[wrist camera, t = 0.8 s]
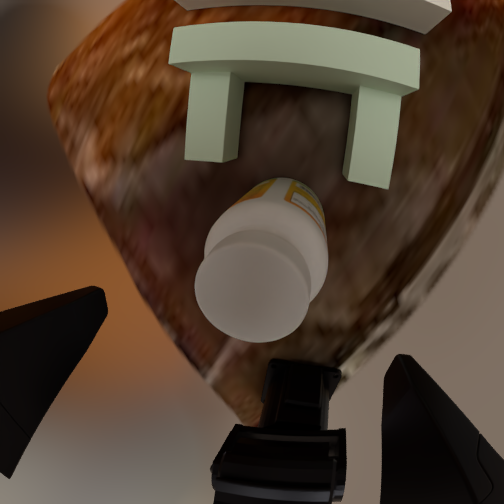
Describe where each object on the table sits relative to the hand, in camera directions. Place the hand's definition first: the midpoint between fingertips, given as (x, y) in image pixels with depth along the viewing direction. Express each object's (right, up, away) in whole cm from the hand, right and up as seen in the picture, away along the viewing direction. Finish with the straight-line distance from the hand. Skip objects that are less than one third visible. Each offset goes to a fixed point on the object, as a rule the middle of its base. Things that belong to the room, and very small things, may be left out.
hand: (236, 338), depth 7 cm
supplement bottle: (+2, +5, +11) cm, 12 cm away
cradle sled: (+3, +11, +7) cm, 13 cm away
